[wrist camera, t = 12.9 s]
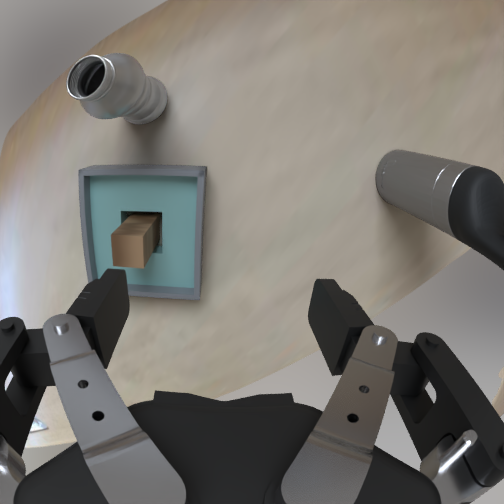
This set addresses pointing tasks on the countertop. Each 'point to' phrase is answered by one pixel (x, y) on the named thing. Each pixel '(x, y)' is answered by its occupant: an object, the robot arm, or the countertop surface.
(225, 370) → the countertop surface
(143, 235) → the peg
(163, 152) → the countertop surface
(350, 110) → the countertop surface
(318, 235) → the countertop surface
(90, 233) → the box
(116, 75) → the plastic bottle
